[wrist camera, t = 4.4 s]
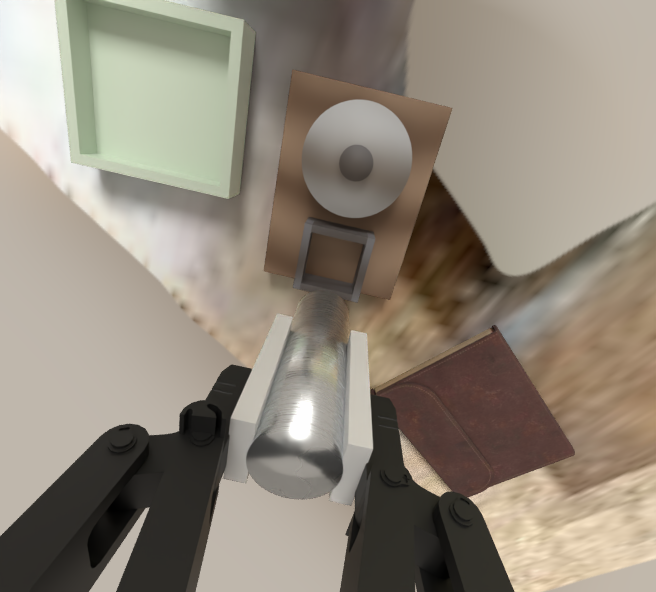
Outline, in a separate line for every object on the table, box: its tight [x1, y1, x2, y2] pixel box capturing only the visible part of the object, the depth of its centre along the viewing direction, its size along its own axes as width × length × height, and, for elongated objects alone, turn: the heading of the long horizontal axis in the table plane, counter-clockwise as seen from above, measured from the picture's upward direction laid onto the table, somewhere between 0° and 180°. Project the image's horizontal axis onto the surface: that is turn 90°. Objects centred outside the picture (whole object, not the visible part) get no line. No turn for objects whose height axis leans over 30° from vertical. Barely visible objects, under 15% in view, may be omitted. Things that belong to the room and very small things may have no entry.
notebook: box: [370, 325, 575, 497], centre depth 39 cm, size 15×20×2 cm
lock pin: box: [246, 290, 349, 499], centre depth 15 cm, size 3×3×10 cm
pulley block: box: [264, 70, 452, 303], centre depth 28 cm, size 16×12×5 cm
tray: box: [55, 0, 256, 199], centre depth 27 cm, size 12×13×3 cm
